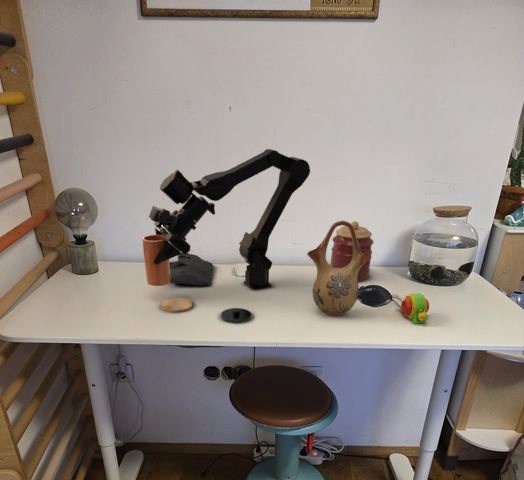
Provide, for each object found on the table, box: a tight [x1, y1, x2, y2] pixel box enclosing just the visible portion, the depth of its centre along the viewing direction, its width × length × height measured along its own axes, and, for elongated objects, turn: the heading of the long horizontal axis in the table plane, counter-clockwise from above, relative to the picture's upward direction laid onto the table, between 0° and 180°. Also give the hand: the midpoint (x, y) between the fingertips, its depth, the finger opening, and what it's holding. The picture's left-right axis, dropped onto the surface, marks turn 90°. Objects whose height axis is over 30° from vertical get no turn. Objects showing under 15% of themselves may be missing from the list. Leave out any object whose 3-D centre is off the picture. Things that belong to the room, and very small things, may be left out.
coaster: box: [160, 297, 193, 313], centre depth 129 cm, size 8×8×1 cm
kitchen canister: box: [329, 220, 375, 282], centre depth 149 cm, size 13×13×18 cm
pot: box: [141, 234, 171, 287], centre depth 128 cm, size 7×7×12 cm
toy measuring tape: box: [390, 292, 430, 324], centre depth 128 cm, size 6×20×7 cm, turn 9°
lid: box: [220, 307, 252, 324], centre depth 123 cm, size 8×8×2 cm
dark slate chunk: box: [169, 252, 214, 287], centre depth 149 cm, size 15×22×5 cm
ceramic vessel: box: [306, 220, 372, 317], centre depth 121 cm, size 16×9×25 cm, turn 85°
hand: (151, 259), depth 128 cm, fingers closed on pot, 7 cm apart
